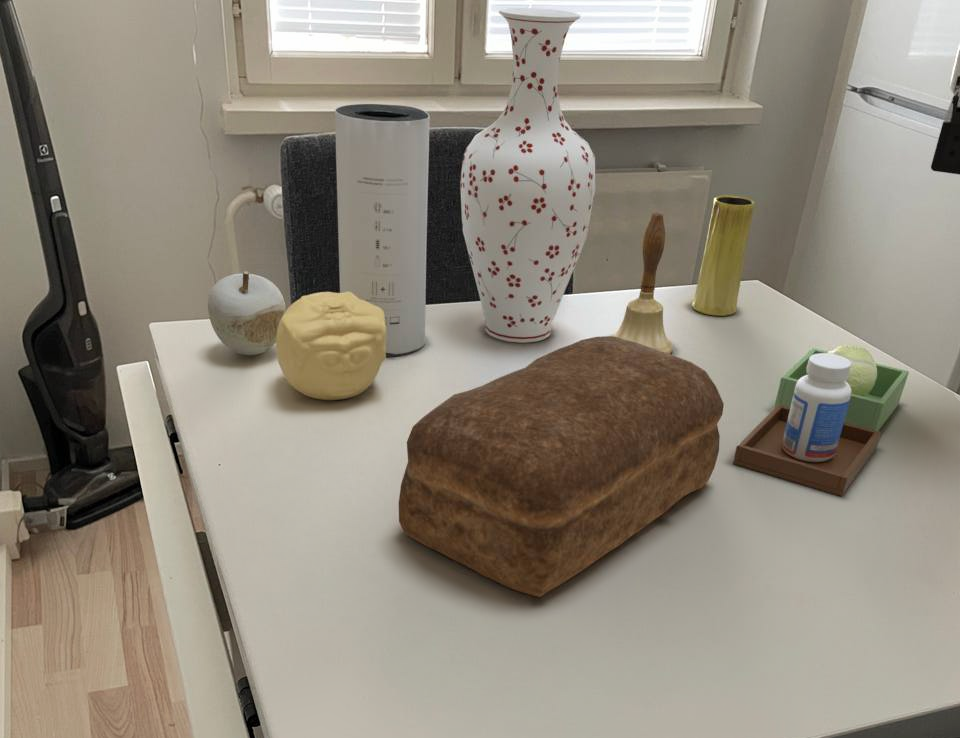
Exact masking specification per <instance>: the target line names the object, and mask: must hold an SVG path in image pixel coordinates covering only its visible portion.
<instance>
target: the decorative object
mask: <svg viewBox="0 0 960 738" xmlns="http://www.w3.org/2000/svg"><path fill="white" fill-rule="evenodd" d="M207 311H208V316H209V321H210V324H211V327H212V330H213V331H214V333H215V335H216V336H217V338H218V339H219V341H220V342H221V343H222V345H224V346H225V347H226V348H227V349H229V350H231V351H232V352H234V353H236V354H239V355H242V356H256V355H261V354H263V353H265V352H267V351H269V350H271V348H273V346H274V345H276V334H277V329H278V325H279V322H280V320H281V318H282V316H283V314H284V313H285V311H286V302H285V299H284V297H283V294H282V292H281V291H280V289H279V288H278V287H277V285H275V284H274V283H273V282H272V281H271V280H270V279H268V278H266V277H263V276H261V275H258V274H254V273H253V274H252V273H250V272H249V271H248V270H244V271H243V272H242V273H234V274H231V275H228V276H225V277H223V278H221V279H220V280H218V281H217V282H216V283H215V284H214V285H213V287H212V288H211V290H210V292H209V295H208V300H207Z"/></svg>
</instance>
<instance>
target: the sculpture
mask: <svg viewBox="0 0 960 738" xmlns="http://www.w3.org/2000/svg"><path fill="white" fill-rule="evenodd" d="M385 344H386V325H385V316H384V312H383V310H382V309H381V308H380V307H377V306H375V305H373V304H370V303H368V302H366V301H364V300H361V299H359V298H358V297H356V296H355V295H354V294H353V293H352V292H349V291H347V292H344V293H340V292H334V291H333V292H332V291H320V292H314V293H310V294H307V295H302V296H300V298H299V299H297V300H296V301H294V302H293V303H291V305H289V306H288V308H287V309H285V313H284V314H283V316H282V318H281V320H280V322H279V325H278V329H277V334H276V343H275V353H276V357H277V362H278V365H279V368H280V371H281V372H282V374H283V376H284V377H285V379H286V380H287V382H288V384H290V386H291V387H292V388H294V389H295V390H296V391H298V392H299V393H301V394H303V395H305V396H307V397H309V398H311V399H316V400H322V401H323V400H324V401H337V400H345V399H349V398H353V397H354V398H355V397H356V396H359V395H360V394H362V393H363V392H365V391H366V390H367V389H368V388H369V387H370V386H371V385H372V383H373V382H374V381H375V380H376V377H377V375H378V373H379V371H380V369H381V366H382V364H383V363H384V362H385V360H386V358H387V356H386V347H385Z"/></svg>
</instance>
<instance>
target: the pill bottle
mask: <svg viewBox="0 0 960 738" xmlns="http://www.w3.org/2000/svg"><path fill="white" fill-rule="evenodd" d="M850 367H851V362H850V361H849V360H848V359H846V358H844V357H842V356H839V355H835V354H828V353H819V354H814V355H812V356H810V358H809V361H808V365H807V368H806V369H807V374H808V375H805V376H803V377H801V378H800V379H799V380H798V381H797V383H796V386H795V390H794V394H793V399H792V403H791V407H790V412H789V416H788V420H787V425H786V429H785V433H784V437H783V442H782V448H783V450H784V451H785V452H786V453H787V454H788V455H790V456H792V457H794V458H796V459H799V460H802V461H807V462H823V461H827V460H829V459H831V458H833V456H834V455H835V452H836V449H837V446H838V442H839V438H840V434H841V431H842V427H843V423H844V420H845V416H846V412H847V408H848V405H849V401H850V397H851V387H850V385H849V384H848V383H847V382H846V381H845V380H846V379H847V378H848V376H849V371H850Z"/></svg>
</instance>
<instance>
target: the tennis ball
mask: <svg viewBox="0 0 960 738" xmlns="http://www.w3.org/2000/svg"><path fill="white" fill-rule="evenodd" d="M827 352H828V354H835V355H839V356H842V357H844V358H846V359H848V360H849V361H850V362H851V367H850V371H849V376H848V378H847V379H846V380H845V381H846V382H847V383H848V384H849V385H850V387H851V394H855V395H859V396H863V397H866V396H867V395H868V394H869V393H870V391H871V390H872V388H873V386H874V384H875V381H876V378H877V368H876V364H877V363H876V361H875V359H874V358H873V355H872V354H871V353H870V352H869V351H868V350H867V349H866V348H865V347H862V346H858V345H855V344H845V345H840V346H837V347H835V348H834V349H832V350H829V351H827ZM875 363H876V364H875Z"/></svg>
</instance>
